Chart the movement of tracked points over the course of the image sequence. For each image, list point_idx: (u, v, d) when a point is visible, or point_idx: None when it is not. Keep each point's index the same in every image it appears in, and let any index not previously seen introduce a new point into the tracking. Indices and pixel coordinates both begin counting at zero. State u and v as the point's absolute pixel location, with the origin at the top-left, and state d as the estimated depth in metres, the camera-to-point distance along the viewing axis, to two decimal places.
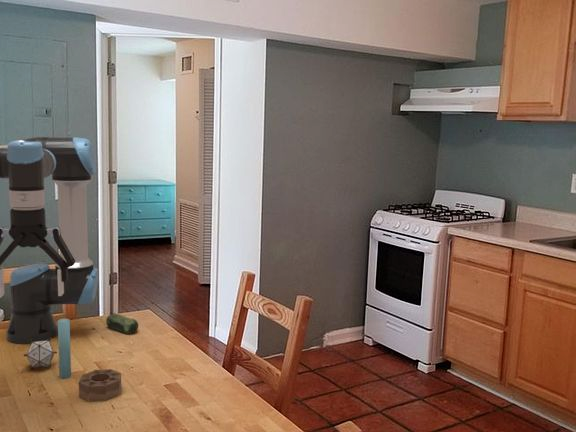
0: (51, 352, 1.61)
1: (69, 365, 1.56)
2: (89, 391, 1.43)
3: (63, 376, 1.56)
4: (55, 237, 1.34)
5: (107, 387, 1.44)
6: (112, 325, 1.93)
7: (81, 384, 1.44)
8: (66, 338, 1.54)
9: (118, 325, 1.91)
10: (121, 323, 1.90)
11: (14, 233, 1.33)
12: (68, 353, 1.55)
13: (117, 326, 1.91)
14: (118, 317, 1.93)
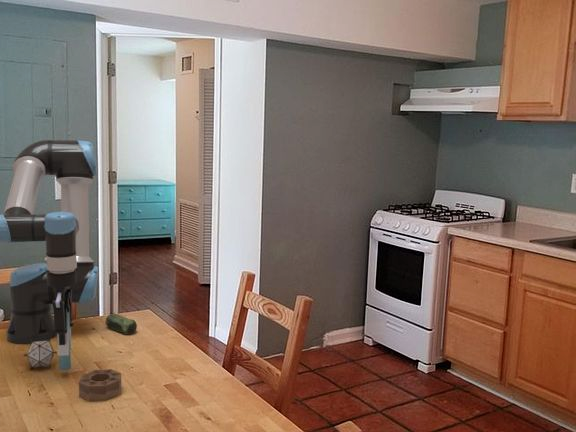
0: (51, 352, 1.61)
1: (69, 358, 1.56)
2: (89, 391, 1.43)
3: (63, 368, 1.56)
4: None
5: (107, 387, 1.44)
6: (111, 325, 1.92)
7: (81, 384, 1.44)
8: None
9: (117, 326, 1.91)
10: (120, 324, 1.90)
11: None
12: None
13: (115, 326, 1.91)
14: (117, 317, 1.93)
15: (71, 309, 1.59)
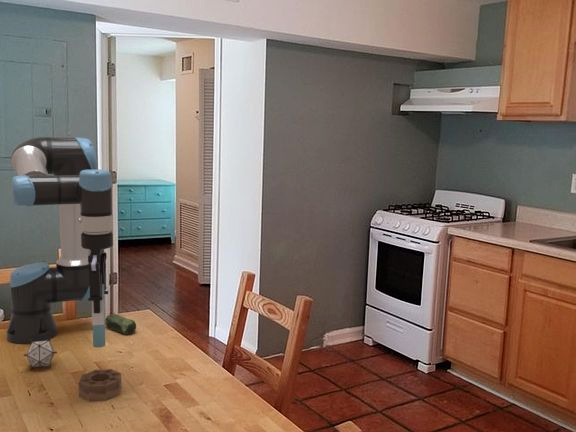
0: (51, 352, 1.61)
1: (103, 333, 1.45)
2: (89, 391, 1.43)
3: (97, 345, 1.45)
4: None
5: (107, 387, 1.44)
6: (111, 325, 1.92)
7: (81, 384, 1.44)
8: None
9: (116, 326, 1.90)
10: (119, 324, 1.90)
11: None
12: None
13: (115, 326, 1.91)
14: (116, 317, 1.93)
15: (105, 276, 1.49)
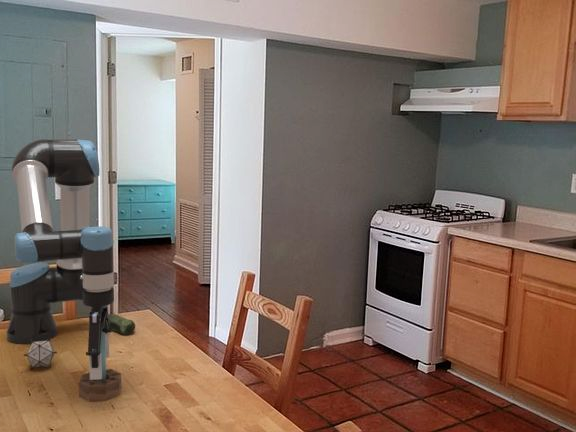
0: (51, 352, 1.61)
1: None
2: (89, 391, 1.43)
3: None
4: None
5: (107, 387, 1.44)
6: (110, 325, 1.92)
7: (81, 384, 1.44)
8: (102, 353, 1.45)
9: (115, 326, 1.90)
10: (118, 324, 1.90)
11: None
12: (104, 368, 1.46)
13: (114, 326, 1.91)
14: (116, 317, 1.92)
15: (108, 318, 1.54)
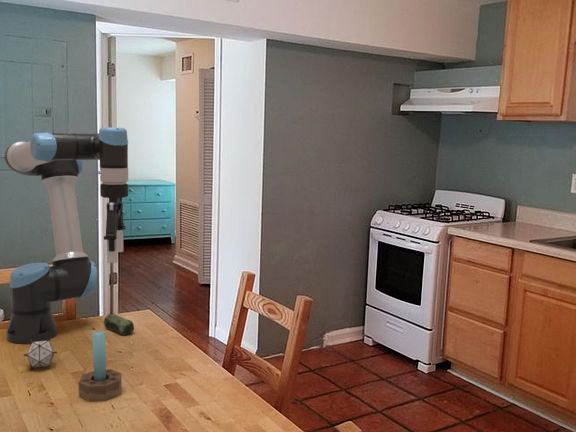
0: (51, 352, 1.61)
1: None
2: (89, 391, 1.43)
3: None
4: (107, 210, 1.54)
5: (107, 387, 1.44)
6: (109, 325, 1.92)
7: (81, 384, 1.44)
8: (102, 353, 1.45)
9: (114, 326, 1.90)
10: (117, 324, 1.89)
11: None
12: (103, 368, 1.46)
13: (113, 326, 1.91)
14: (115, 318, 1.92)
15: (122, 216, 1.69)
